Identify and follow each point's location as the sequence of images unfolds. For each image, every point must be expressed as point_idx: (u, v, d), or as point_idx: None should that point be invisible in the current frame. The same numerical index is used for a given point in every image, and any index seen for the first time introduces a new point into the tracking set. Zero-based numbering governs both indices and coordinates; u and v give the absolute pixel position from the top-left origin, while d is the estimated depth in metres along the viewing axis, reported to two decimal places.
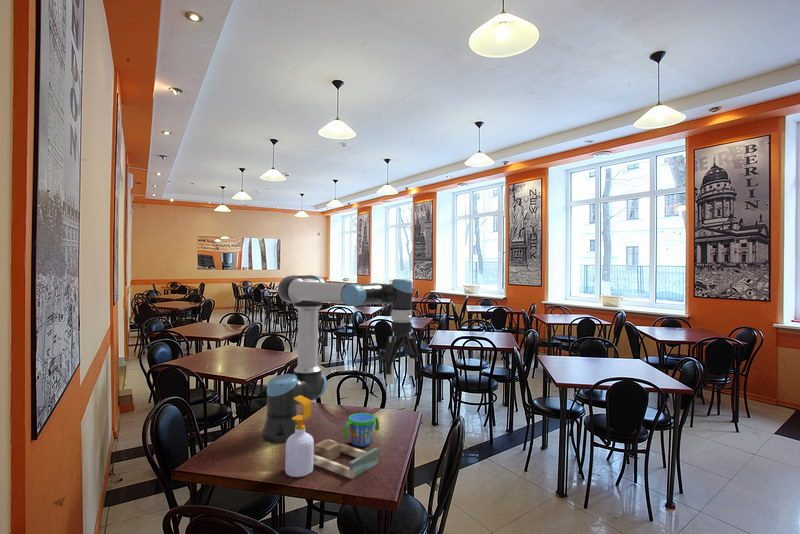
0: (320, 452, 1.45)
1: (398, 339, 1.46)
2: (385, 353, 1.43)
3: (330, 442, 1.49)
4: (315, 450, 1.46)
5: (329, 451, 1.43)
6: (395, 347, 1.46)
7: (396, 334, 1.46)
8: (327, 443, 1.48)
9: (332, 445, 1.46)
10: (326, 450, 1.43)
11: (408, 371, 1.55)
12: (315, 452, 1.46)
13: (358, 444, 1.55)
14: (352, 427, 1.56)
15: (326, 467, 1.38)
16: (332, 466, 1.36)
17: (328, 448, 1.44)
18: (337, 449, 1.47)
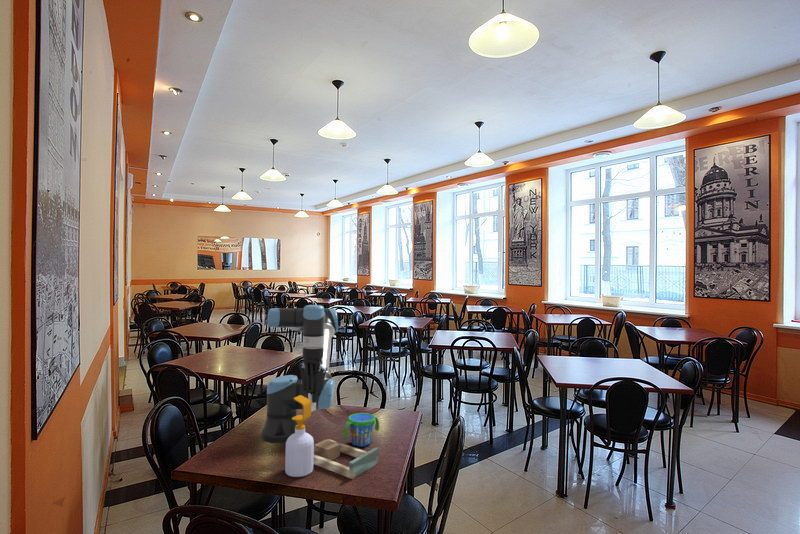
0: (319, 452, 1.45)
1: (304, 363, 1.53)
2: None
3: (330, 442, 1.49)
4: (315, 449, 1.46)
5: (329, 451, 1.43)
6: None
7: None
8: (327, 443, 1.48)
9: (332, 445, 1.46)
10: (325, 450, 1.43)
11: None
12: (315, 452, 1.46)
13: (358, 444, 1.55)
14: (352, 427, 1.56)
15: (326, 467, 1.38)
16: (332, 466, 1.36)
17: (328, 448, 1.44)
18: (337, 449, 1.46)
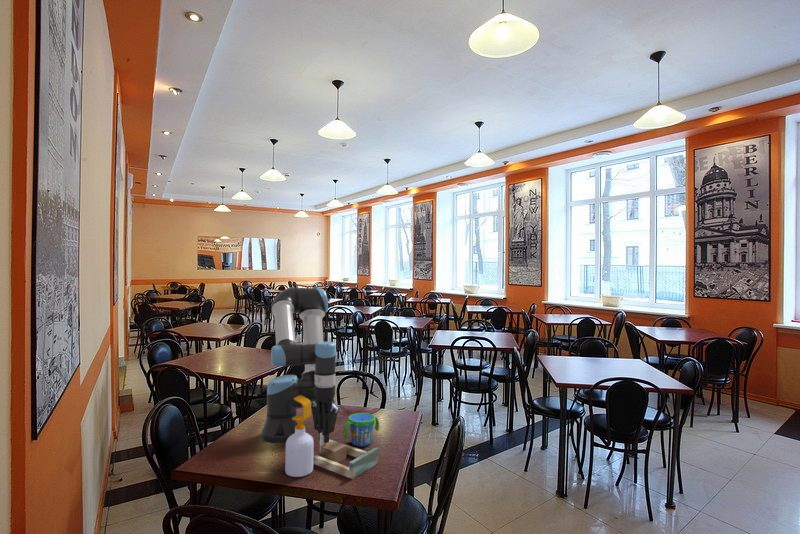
0: (326, 454, 1.43)
1: (316, 401, 1.49)
2: None
3: (337, 444, 1.47)
4: (321, 451, 1.45)
5: (336, 453, 1.42)
6: None
7: None
8: (334, 445, 1.46)
9: (339, 447, 1.44)
10: (332, 452, 1.42)
11: None
12: (321, 454, 1.45)
13: (358, 444, 1.55)
14: (352, 427, 1.56)
15: (326, 467, 1.38)
16: (332, 466, 1.36)
17: (335, 450, 1.42)
18: (344, 451, 1.45)
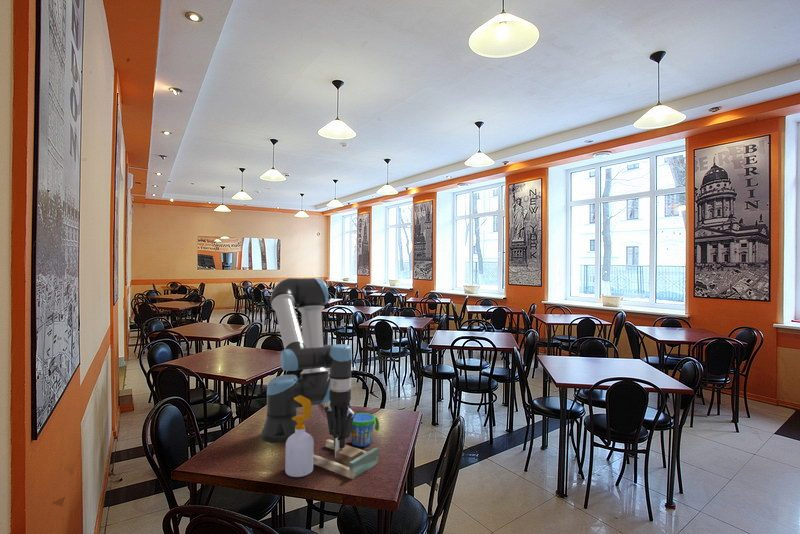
0: (342, 459, 1.39)
1: (331, 406, 1.45)
2: None
3: (352, 449, 1.43)
4: (337, 457, 1.41)
5: (352, 458, 1.38)
6: None
7: None
8: (349, 450, 1.42)
9: (355, 452, 1.41)
10: (349, 458, 1.38)
11: None
12: (337, 459, 1.41)
13: (358, 444, 1.55)
14: (352, 427, 1.56)
15: (326, 467, 1.38)
16: (332, 466, 1.36)
17: (351, 455, 1.38)
18: None
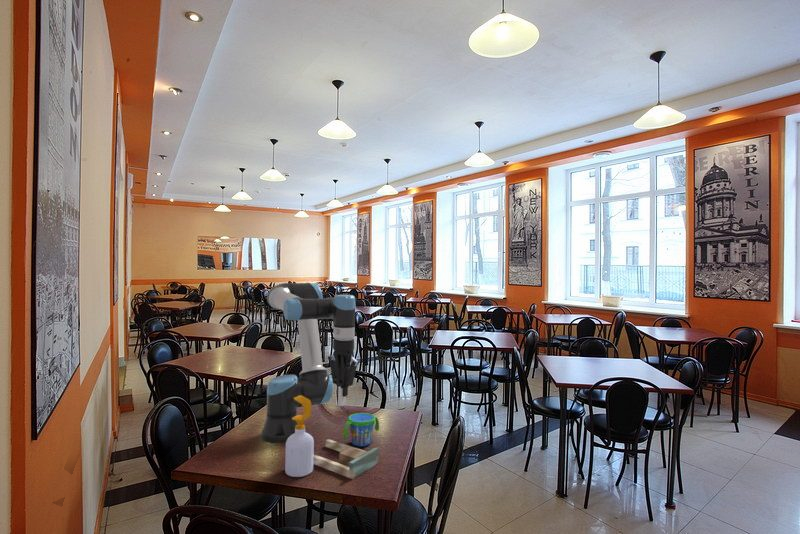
0: (346, 461, 1.39)
1: (334, 355, 1.46)
2: None
3: (355, 450, 1.43)
4: (340, 458, 1.40)
5: None
6: None
7: None
8: (353, 451, 1.42)
9: (359, 453, 1.40)
10: (353, 459, 1.37)
11: None
12: (340, 461, 1.40)
13: (358, 444, 1.55)
14: (352, 427, 1.56)
15: (326, 467, 1.38)
16: (332, 466, 1.36)
17: (355, 456, 1.38)
18: None
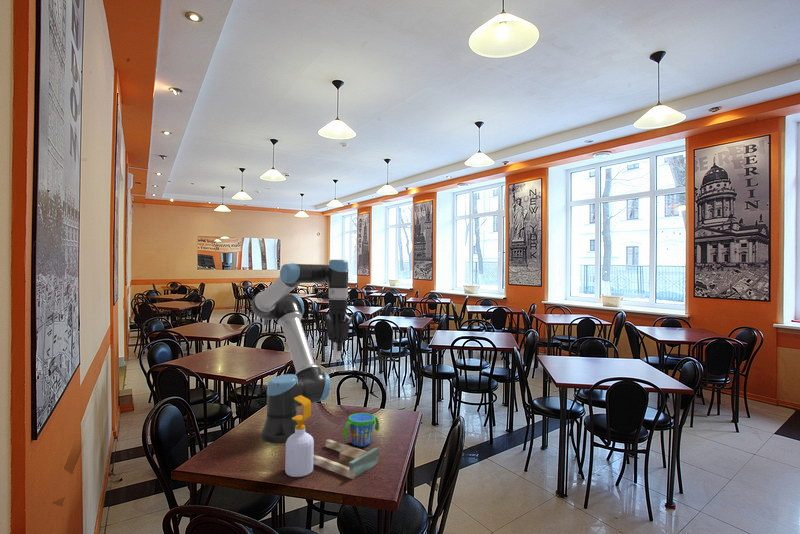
0: (346, 461, 1.39)
1: (330, 314, 1.61)
2: None
3: (355, 450, 1.43)
4: (340, 458, 1.40)
5: None
6: None
7: None
8: (353, 451, 1.42)
9: (359, 453, 1.40)
10: (353, 459, 1.37)
11: None
12: (341, 461, 1.40)
13: (358, 444, 1.55)
14: (352, 427, 1.56)
15: (326, 467, 1.38)
16: (332, 466, 1.36)
17: (355, 456, 1.38)
18: None
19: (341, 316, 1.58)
